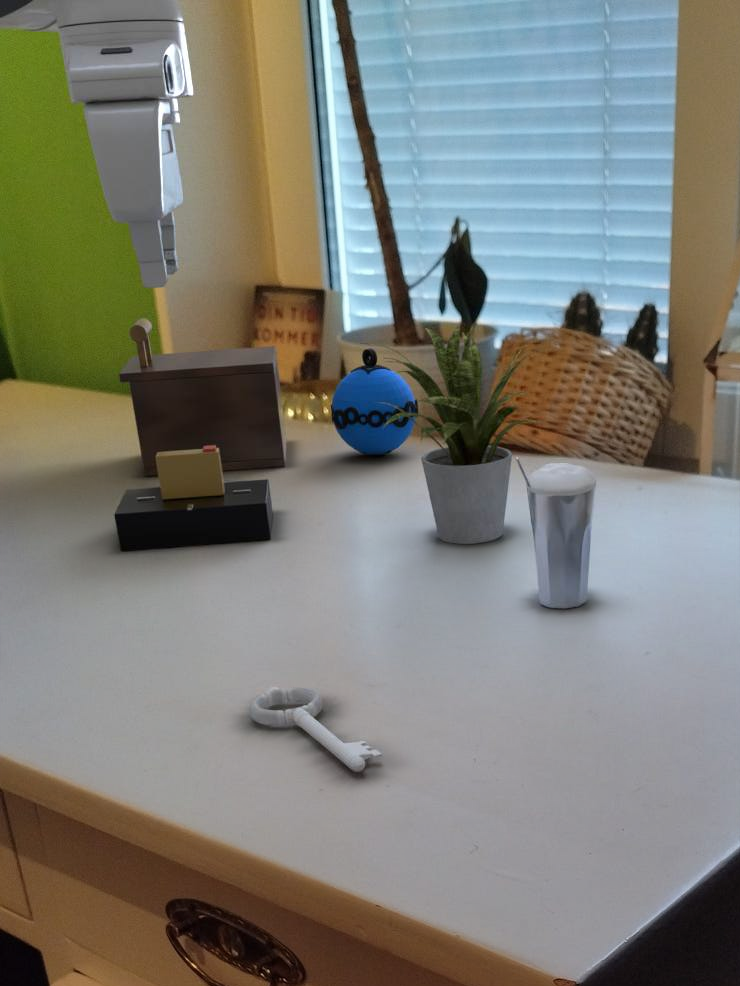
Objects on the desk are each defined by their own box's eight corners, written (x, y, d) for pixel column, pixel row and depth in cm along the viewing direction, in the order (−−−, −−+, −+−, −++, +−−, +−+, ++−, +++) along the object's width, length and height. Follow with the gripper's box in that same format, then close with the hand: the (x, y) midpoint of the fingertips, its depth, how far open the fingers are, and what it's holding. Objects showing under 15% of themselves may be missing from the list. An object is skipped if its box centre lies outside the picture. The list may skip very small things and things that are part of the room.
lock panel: (119, 553, 105) (112, 514, 103) (133, 522, 113) (126, 485, 111) (270, 541, 106) (265, 502, 104) (273, 512, 114) (268, 475, 112)
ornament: (317, 456, 132) (306, 351, 127) (384, 441, 137) (376, 339, 132) (370, 469, 126) (361, 359, 121) (438, 452, 131) (432, 346, 126)
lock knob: (162, 500, 107) (154, 453, 105) (164, 495, 108) (156, 448, 107) (224, 495, 107) (217, 448, 106) (225, 490, 109) (218, 444, 107)
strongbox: (144, 476, 128) (128, 382, 123) (155, 452, 137) (141, 363, 133) (285, 466, 129) (274, 372, 124) (286, 443, 138) (276, 354, 134)
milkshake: (508, 598, 91) (503, 451, 86) (579, 587, 92) (578, 441, 87) (534, 618, 87) (530, 465, 82) (607, 605, 89) (607, 454, 84)
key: (304, 692, 77) (237, 708, 76) (303, 677, 77) (235, 693, 75) (397, 765, 68) (323, 785, 66) (396, 749, 68) (321, 769, 66)
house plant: (344, 526, 109) (323, 315, 101) (491, 499, 114) (483, 297, 106) (416, 569, 98) (399, 336, 90) (576, 537, 103) (574, 314, 95)
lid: (120, 382, 123) (111, 330, 121) (133, 364, 133) (125, 315, 130) (274, 371, 124) (267, 319, 122) (276, 354, 134) (270, 305, 131)
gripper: (103, 80, 104) (135, 270, 111) (63, 71, 86) (104, 298, 93) (183, 75, 104) (210, 264, 111) (160, 65, 87) (194, 291, 94)
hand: (162, 280), depth 102 cm, fingers open, 8 cm apart
